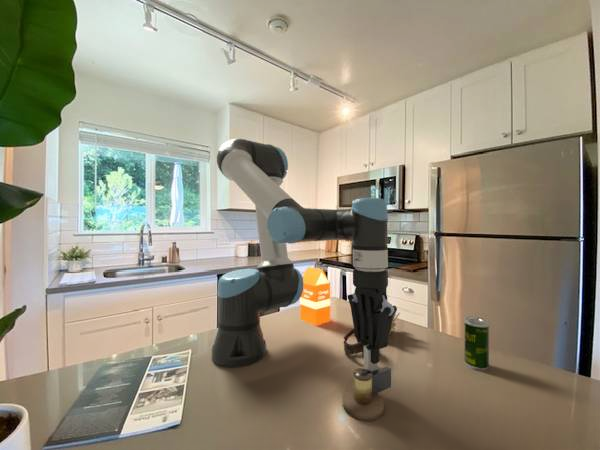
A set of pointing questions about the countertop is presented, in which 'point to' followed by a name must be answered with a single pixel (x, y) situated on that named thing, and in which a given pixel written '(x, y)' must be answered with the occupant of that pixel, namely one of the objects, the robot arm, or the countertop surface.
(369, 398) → the knob
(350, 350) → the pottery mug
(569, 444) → the countertop surface
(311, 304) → the orange juice
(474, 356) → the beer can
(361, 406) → the dial base
